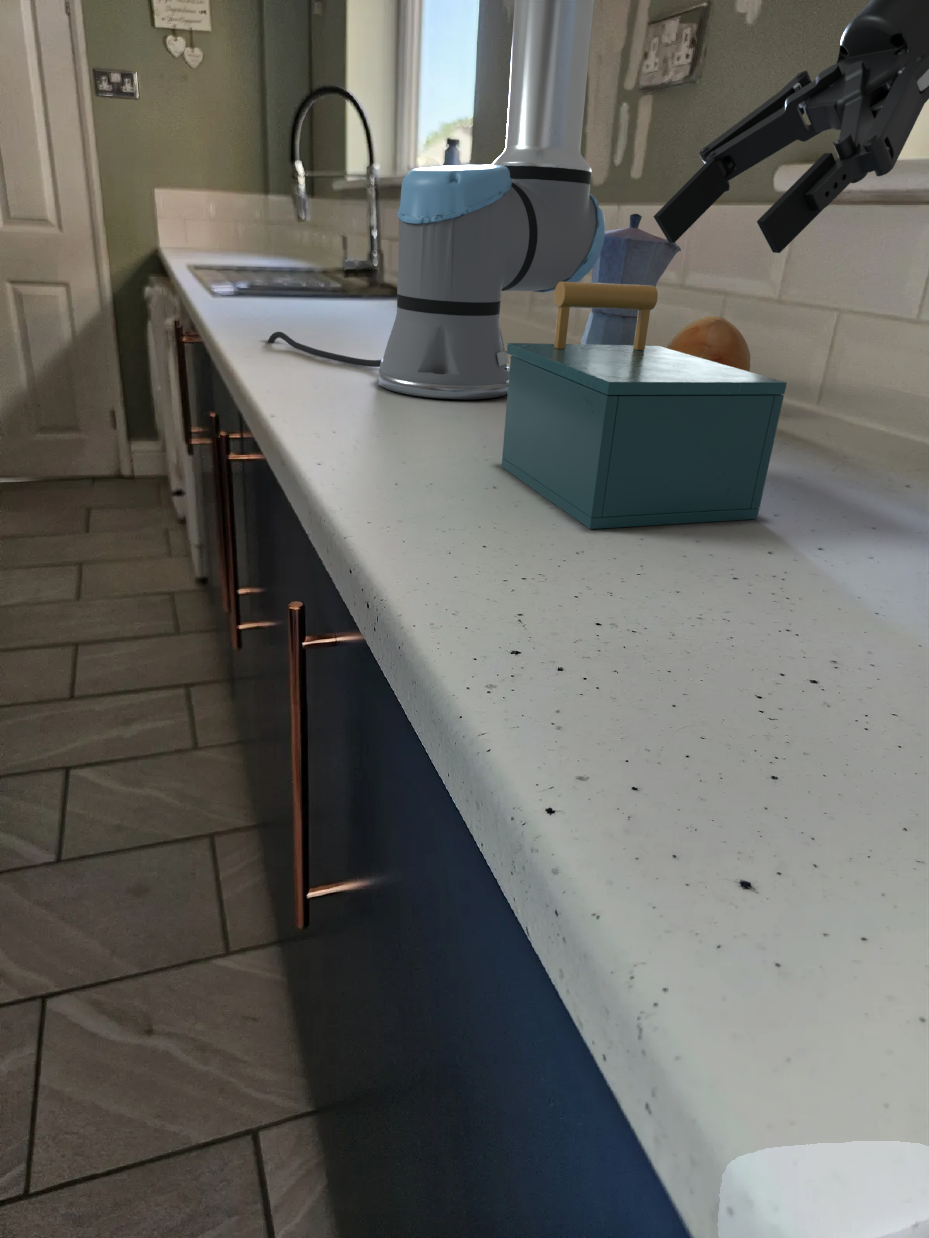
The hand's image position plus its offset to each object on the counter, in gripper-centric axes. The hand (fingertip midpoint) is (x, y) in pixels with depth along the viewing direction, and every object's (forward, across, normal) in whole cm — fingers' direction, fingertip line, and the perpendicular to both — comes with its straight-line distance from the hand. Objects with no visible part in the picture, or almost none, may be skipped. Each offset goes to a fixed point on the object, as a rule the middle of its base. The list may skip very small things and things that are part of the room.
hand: (711, 234), depth 67 cm
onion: (0, -24, +27) cm, 36 cm away
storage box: (+19, +6, +7) cm, 21 cm away
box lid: (+13, +6, +1) cm, 14 cm away
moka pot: (0, -45, +26) cm, 52 cm away
